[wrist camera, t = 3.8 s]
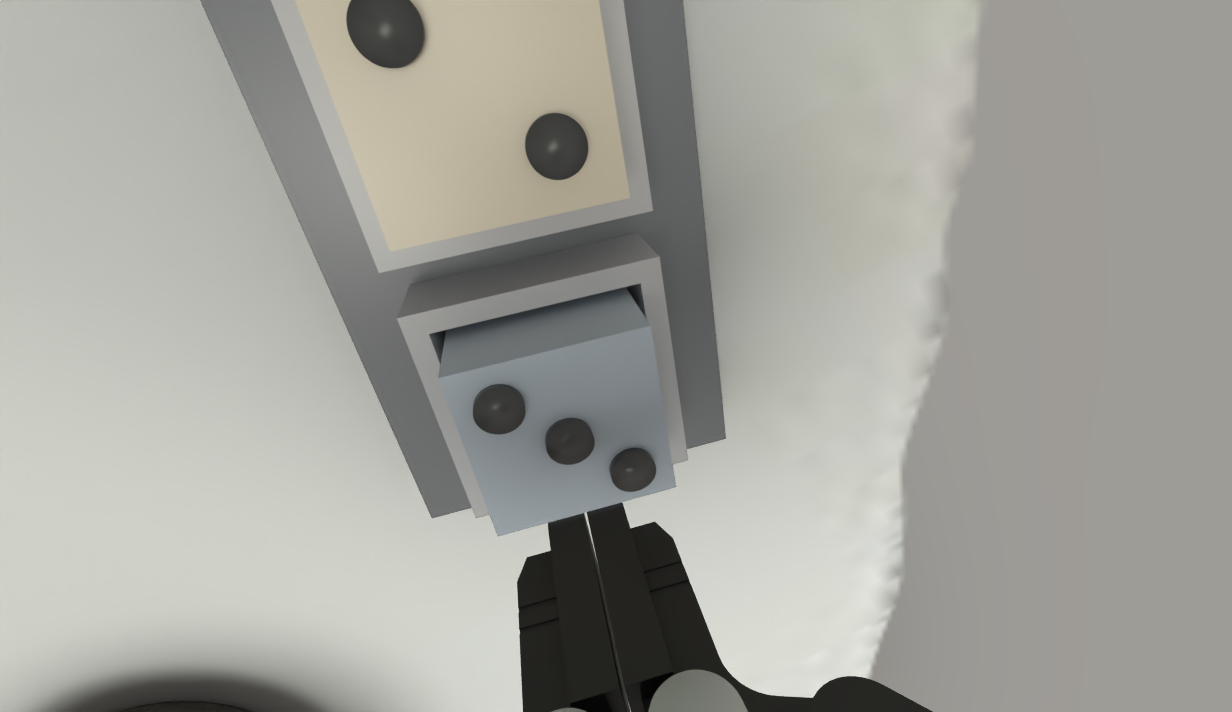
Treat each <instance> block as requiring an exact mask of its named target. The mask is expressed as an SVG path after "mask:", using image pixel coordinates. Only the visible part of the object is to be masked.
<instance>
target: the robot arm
mask: <svg viewBox="0 0 1232 712" xmlns="http://www.w3.org/2000/svg"><path fill="white" fill-rule="evenodd" d="M587 515H588V520H589V524H590V529H591V534H592V538H593V543H594V548H595V552H596V556H595V552H594V548H593V544H592V541H591V537H590V533H589V529H588V526H587V522H586V518H585V515H584V513H582V514H578V515H575V516H571V517H567V518H564V519H560V520H556V521H553V522H549V523H548V530H549V539H550V547H551V551H549V552H545V553H541V554H538V555H534V556H530V557H527V559H526V561H525V564H524V566H523V569H522V571H521V574H520V576H519V579H518V581H517V588H518V608H519V629H520V654H521V676H522V697H523V712H630V709H631V712H932V711H930V710H928V709H927V708H925V707H923V706H921V705H919V704H917V703H915V702H914V701H912V700H910V699H908V698H906V697H904V696H903V695H901V694H899V693H897V692H895V691H893V690H891V689H890V688H888V687H886V686H884V685H882V684H880V683H878V682H875V681H873V680H870V679H867V678H862V677H856V676H846V677H840V678H836V679H834V680H831V681H829V682H828V683H826V684H824V685H823V686H822V687H821V688H820V689H819V690H818V691H817V693H816V694H815V696H814V697H813V698H804V697H784V696H772V695H766V694H762V693H759V692H756V691H754V690H752V689H749V688H748V687H746V686H744V685H743V684H741V683H740V682H738V681H737V680H736V679H735V678H734V677H733V676H732V675H731V674H730V673H729V672H728V671H727V669H726V668H725V667H724V665H723V664H722V662H721V660H720V657H719V655H718V653H717V650H716V648H715V645H714V642H713V640H712V637H711V635H710V632H709V630H708V627H707V625H706V622H705V619H704V617H703V614H702V612H701V609H700V607H699V604H698V602H697V599H696V596H695V594H694V591H693V589H692V586H691V584H690V582H689V578H688V576H687V573H686V571H685V568H684V566H683V564H682V561H681V558H680V555H679V553H678V550H677V548H676V545H675V543H674V540H673V538H672V537H671V536H670V535H669V534H668V533H667V532H665V531H664V530H663V529H662V528H661V527H660V526H659V525H658V524H657V523H656V522H652V523H649V524H645V525H642V526H638V527H634V528H631V529H630V526H629V523H628V520H627V516H626V513H625V510H624V507H623V504H622V503H618V504H614V505H611V506H607V507H603V508H600V509H596V510H592V511H589V512H587ZM596 557H597V559H596ZM597 562H598V563H597ZM598 566H599V567H598ZM628 702H629V703H628ZM629 705H630V707H629Z"/></svg>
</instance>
